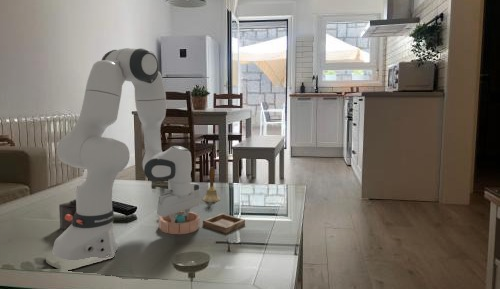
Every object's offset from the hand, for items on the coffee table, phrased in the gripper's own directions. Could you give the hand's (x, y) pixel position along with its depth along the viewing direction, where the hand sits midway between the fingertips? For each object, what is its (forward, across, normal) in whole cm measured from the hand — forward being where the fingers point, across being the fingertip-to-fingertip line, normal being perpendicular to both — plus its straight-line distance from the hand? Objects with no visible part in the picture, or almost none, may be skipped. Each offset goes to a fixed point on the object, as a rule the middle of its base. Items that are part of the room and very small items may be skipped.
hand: (179, 221), depth 165 cm
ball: (+1, 0, 0) cm, 1 cm away
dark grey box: (+2, -26, +25) cm, 36 cm away
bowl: (+2, 0, 0) cm, 2 cm away
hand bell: (+2, +35, +14) cm, 38 cm away
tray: (+2, +13, -12) cm, 18 cm away
